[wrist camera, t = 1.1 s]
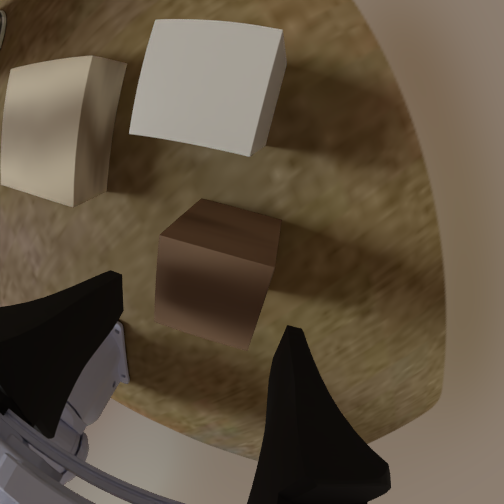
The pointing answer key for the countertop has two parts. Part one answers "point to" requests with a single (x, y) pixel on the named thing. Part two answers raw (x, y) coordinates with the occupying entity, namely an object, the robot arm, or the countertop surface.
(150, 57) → the off-white block
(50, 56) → the countertop surface
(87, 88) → the birch base block
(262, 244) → the walnut block
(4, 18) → the coffee can
